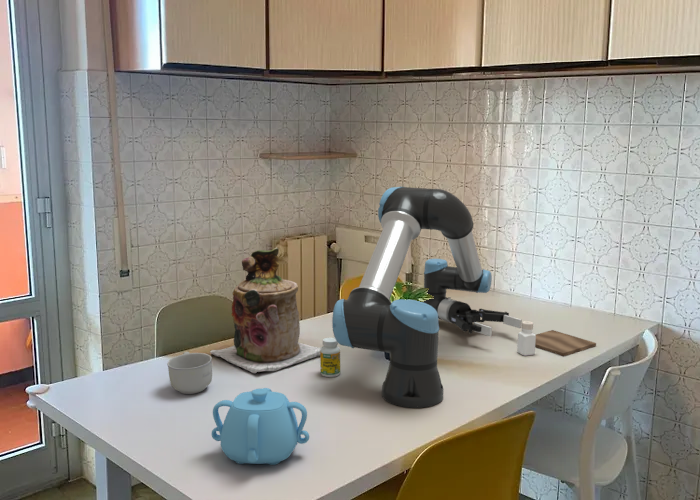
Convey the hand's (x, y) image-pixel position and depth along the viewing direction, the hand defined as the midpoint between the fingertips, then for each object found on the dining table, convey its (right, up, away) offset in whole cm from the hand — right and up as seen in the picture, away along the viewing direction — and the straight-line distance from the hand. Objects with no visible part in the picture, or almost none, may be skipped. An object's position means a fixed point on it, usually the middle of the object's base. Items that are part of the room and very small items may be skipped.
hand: (506, 327), depth 205 cm
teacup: (-87, -12, -32) cm, 94 cm away
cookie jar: (-71, -7, -8) cm, 72 cm away
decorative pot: (-65, -18, -66) cm, 95 cm away
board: (+17, -5, +4) cm, 18 cm away
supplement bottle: (-52, -10, -22) cm, 58 cm away
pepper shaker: (+5, -7, -5) cm, 10 cm away
